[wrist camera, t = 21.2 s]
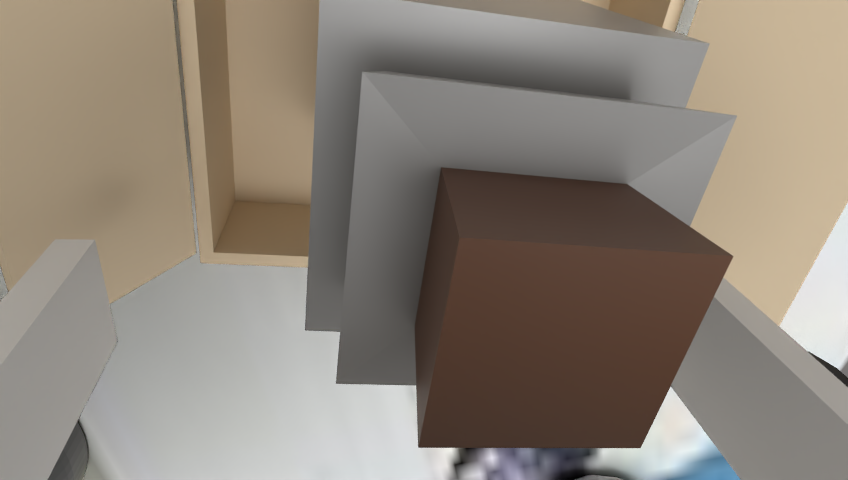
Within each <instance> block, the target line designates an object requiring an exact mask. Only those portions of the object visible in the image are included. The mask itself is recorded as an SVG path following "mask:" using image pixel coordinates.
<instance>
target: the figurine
mask: <svg viewBox="0 0 848 480" xmlns="http://www.w3.org/2000/svg"><path fill="white" fill-rule="evenodd" d="M575 480H623V479H620V478H617V477H607V476H600V475H588V476H584V477H581V478H578V479H575Z"/></svg>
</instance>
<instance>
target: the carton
mask: <svg viewBox="0 0 848 480" xmlns="http://www.w3.org/2000/svg"><path fill="white" fill-rule="evenodd" d="M580 1H583V2H586V3H589V4H592V5H595V6H598V7H601V8H604V9H607V10H610V11H613V12H616V13H619V14H622V15H625V16H628V17H631V18H634V19H637V20H640V21H643V22H646V23H649V24H652V25H655V26H658V27H661V28H664V29H667V30H670V31H673V32H675V30H676V27H677V24H678V21H679V18H680V15H681V12H682V9H683V6H684V3H685V0H580ZM319 3H320V0H177V11H178V22H179V33H180V44H181V55H182V66H183V77H184V88H185V98H186V109H187V120H188V131H189V142H190V153H191V164H192V175H193V186H194V197H195V208H196V219H197V229H198V240H199V251H200V262H201V263H209V264H233V265H258V266H283V267H307V268H308V252H309V230H310V207H311V184H312V162H313V139H314V116H315V94H316V71H317V49H318V26H319Z"/></svg>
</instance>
